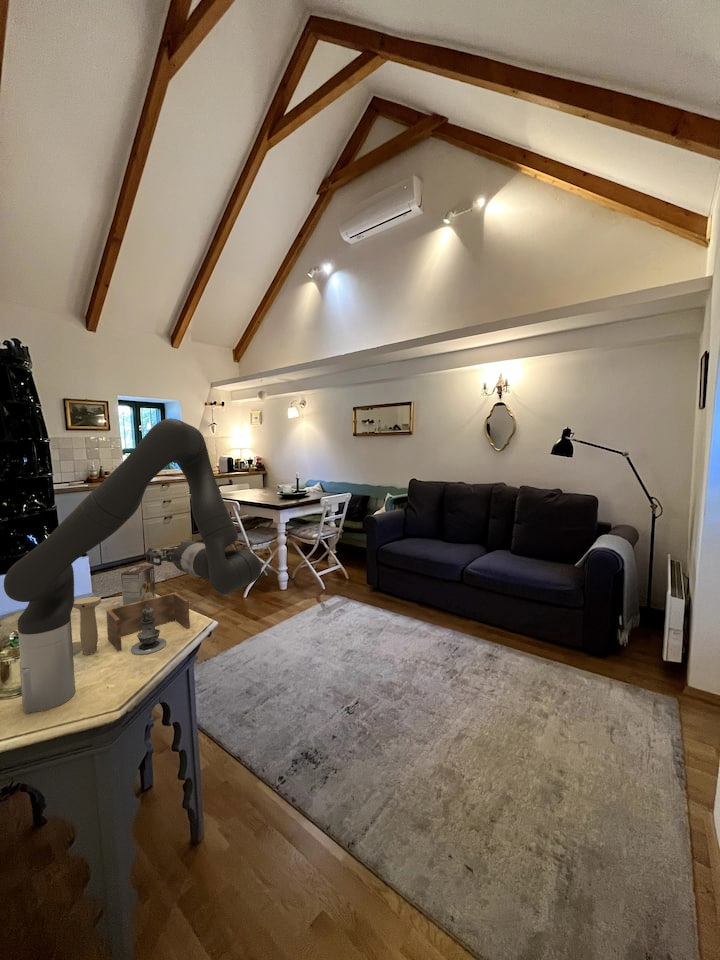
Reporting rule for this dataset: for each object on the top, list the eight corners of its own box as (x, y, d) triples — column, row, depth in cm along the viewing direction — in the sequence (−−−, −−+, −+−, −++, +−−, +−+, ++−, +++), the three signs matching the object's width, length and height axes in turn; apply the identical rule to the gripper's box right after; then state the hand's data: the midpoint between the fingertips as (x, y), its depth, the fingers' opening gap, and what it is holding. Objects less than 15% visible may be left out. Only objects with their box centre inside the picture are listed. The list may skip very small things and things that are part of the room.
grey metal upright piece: (133, 647, 111) (130, 606, 110) (152, 638, 116) (150, 599, 115) (146, 652, 108) (144, 610, 107) (165, 643, 113) (163, 602, 112)
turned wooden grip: (80, 649, 111) (77, 598, 109) (106, 646, 112) (103, 596, 111) (72, 658, 106) (69, 604, 105) (99, 655, 107) (96, 602, 106)
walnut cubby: (117, 651, 109) (115, 620, 109) (107, 639, 117) (106, 609, 116) (189, 628, 124) (188, 600, 123) (177, 618, 131) (175, 592, 130)
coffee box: (139, 609, 139) (136, 565, 138) (156, 609, 139) (154, 564, 138) (123, 620, 130) (120, 573, 129) (142, 620, 130) (139, 573, 129)
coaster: (136, 658, 106) (136, 657, 106) (126, 647, 112) (126, 645, 112) (171, 646, 112) (171, 645, 112) (160, 636, 118) (160, 635, 118)
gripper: (223, 538, 99) (191, 530, 109) (166, 549, 88) (136, 539, 98) (224, 567, 99) (192, 556, 110) (167, 582, 88) (138, 568, 99)
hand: (166, 548), depth 104 cm, fingers open, 8 cm apart
